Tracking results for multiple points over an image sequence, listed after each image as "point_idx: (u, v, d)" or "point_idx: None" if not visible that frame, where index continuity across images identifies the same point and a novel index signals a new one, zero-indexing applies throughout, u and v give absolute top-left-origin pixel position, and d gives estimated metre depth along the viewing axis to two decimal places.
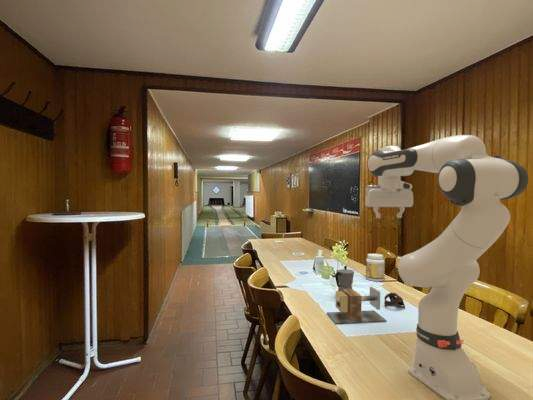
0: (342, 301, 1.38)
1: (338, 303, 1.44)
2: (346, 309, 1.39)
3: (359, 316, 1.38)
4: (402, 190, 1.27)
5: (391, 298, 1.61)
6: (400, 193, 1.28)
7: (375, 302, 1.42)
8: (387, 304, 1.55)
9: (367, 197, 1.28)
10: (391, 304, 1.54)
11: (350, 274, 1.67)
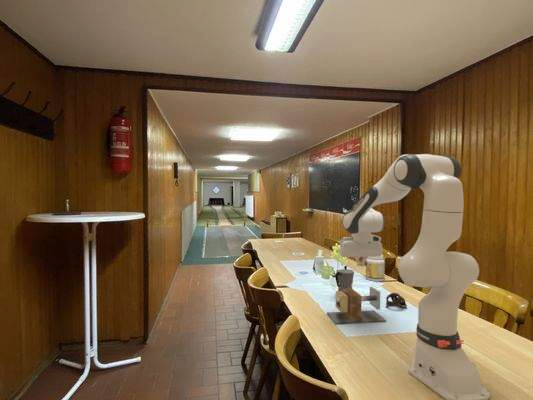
0: (342, 301, 1.38)
1: (338, 303, 1.44)
2: (346, 309, 1.39)
3: (359, 316, 1.38)
4: (372, 242, 1.44)
5: (393, 298, 1.61)
6: (370, 244, 1.45)
7: (375, 302, 1.42)
8: (389, 304, 1.55)
9: (341, 248, 1.44)
10: (393, 304, 1.53)
11: (350, 274, 1.67)
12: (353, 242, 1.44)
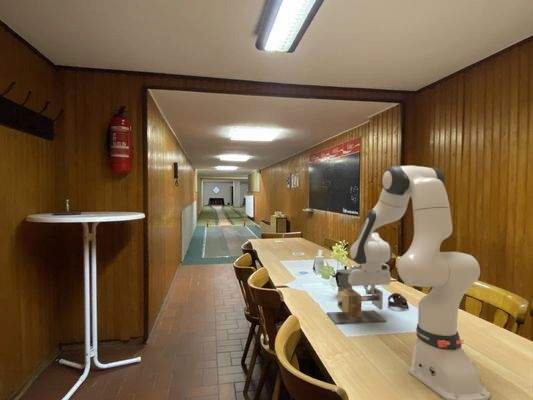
0: (344, 301, 1.39)
1: (340, 303, 1.44)
2: (348, 309, 1.39)
3: (359, 316, 1.38)
4: (380, 271, 1.44)
5: (394, 299, 1.60)
6: (379, 273, 1.45)
7: (378, 302, 1.42)
8: (391, 305, 1.54)
9: (350, 277, 1.45)
10: (395, 305, 1.53)
11: None
12: (362, 271, 1.44)
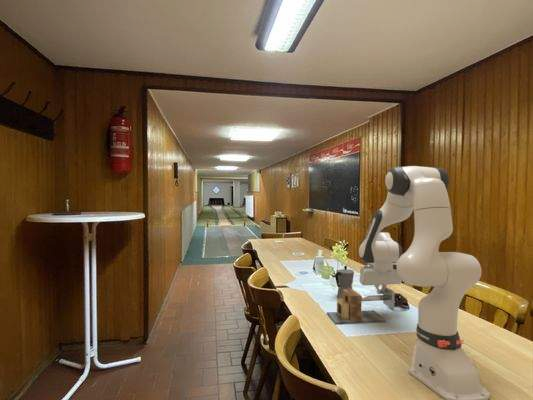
0: (343, 309, 1.39)
1: (339, 310, 1.44)
2: (347, 317, 1.39)
3: (359, 316, 1.38)
4: (392, 270, 1.45)
5: (395, 299, 1.60)
6: (390, 273, 1.46)
7: (389, 302, 1.43)
8: None
9: (361, 276, 1.46)
10: (396, 305, 1.53)
11: (350, 274, 1.67)
12: (373, 270, 1.45)
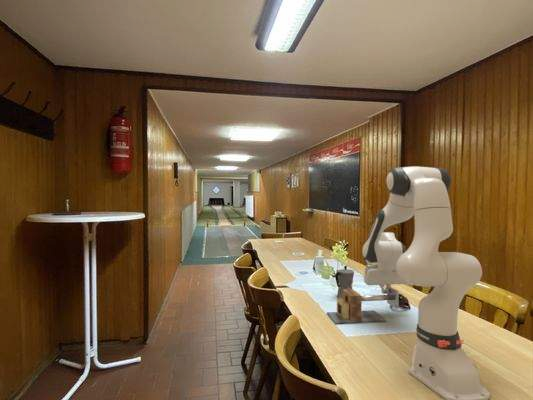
0: (343, 309, 1.39)
1: (339, 310, 1.44)
2: (347, 317, 1.39)
3: (359, 316, 1.38)
4: (396, 270, 1.46)
5: None
6: (395, 272, 1.46)
7: (394, 301, 1.43)
8: None
9: (366, 276, 1.46)
10: None
11: (350, 274, 1.67)
12: (378, 270, 1.45)
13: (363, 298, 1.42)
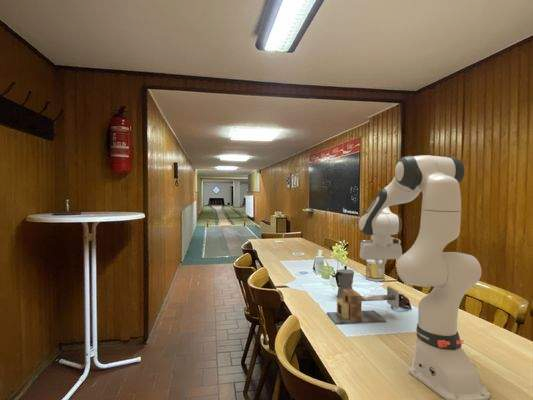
0: (343, 309, 1.39)
1: (339, 310, 1.44)
2: (347, 317, 1.39)
3: (359, 316, 1.38)
4: (392, 245, 1.45)
5: None
6: (390, 247, 1.46)
7: (394, 301, 1.43)
8: None
9: (361, 251, 1.46)
10: None
11: (350, 274, 1.67)
12: (373, 245, 1.45)
13: (363, 298, 1.42)
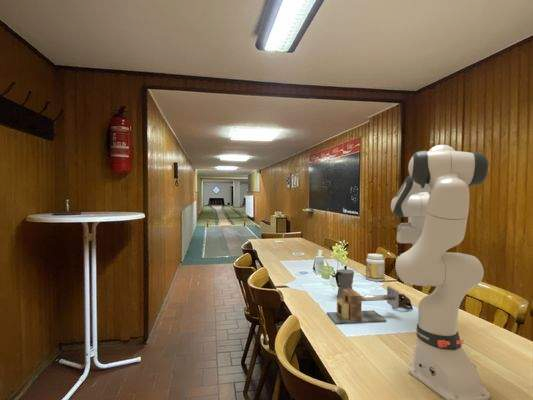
0: (343, 309, 1.39)
1: (339, 310, 1.44)
2: (347, 317, 1.39)
3: (359, 316, 1.38)
4: None
5: None
6: None
7: (394, 301, 1.43)
8: None
9: (399, 234, 1.40)
10: (399, 305, 1.52)
11: (350, 274, 1.67)
12: (411, 228, 1.39)
13: (363, 298, 1.42)
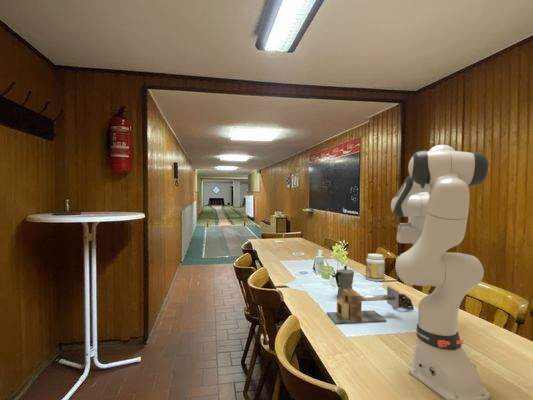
0: (343, 309, 1.39)
1: (339, 310, 1.44)
2: (347, 317, 1.39)
3: (359, 316, 1.38)
4: None
5: (399, 299, 1.59)
6: None
7: (394, 301, 1.43)
8: None
9: (399, 234, 1.40)
10: (400, 305, 1.52)
11: (350, 274, 1.67)
12: (412, 228, 1.39)
13: (363, 298, 1.42)
